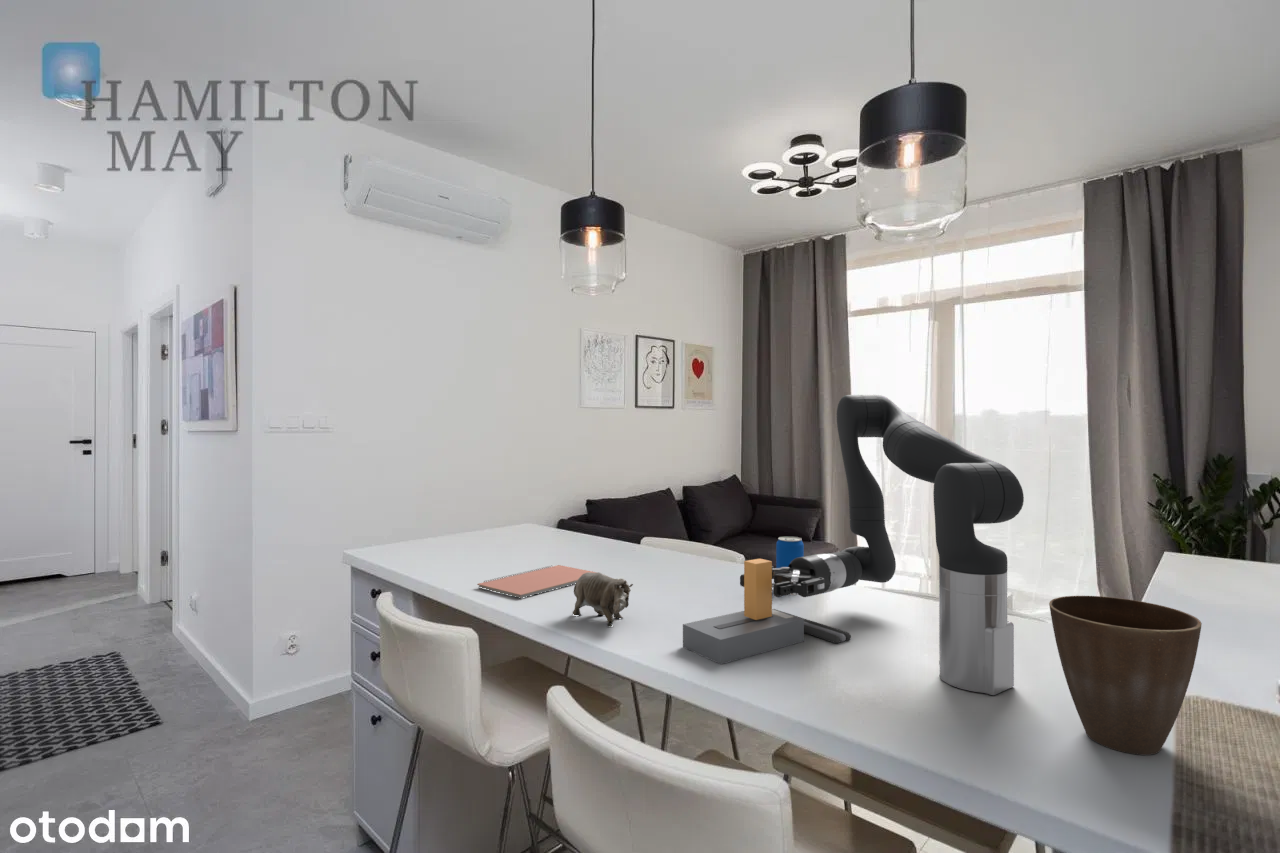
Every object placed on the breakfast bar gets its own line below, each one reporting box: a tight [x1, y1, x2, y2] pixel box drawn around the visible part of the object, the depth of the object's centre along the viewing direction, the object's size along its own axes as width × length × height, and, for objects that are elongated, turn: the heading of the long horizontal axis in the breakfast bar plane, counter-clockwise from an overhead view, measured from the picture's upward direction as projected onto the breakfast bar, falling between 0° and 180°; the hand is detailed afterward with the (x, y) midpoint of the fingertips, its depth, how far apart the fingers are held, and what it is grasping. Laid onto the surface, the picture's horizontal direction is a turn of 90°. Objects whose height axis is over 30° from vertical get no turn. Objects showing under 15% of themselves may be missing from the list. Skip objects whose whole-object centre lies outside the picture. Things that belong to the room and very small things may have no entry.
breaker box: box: [682, 608, 805, 665], centre depth 113 cm, size 10×20×4 cm, turn 124°
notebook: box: [476, 564, 597, 598], centre depth 159 cm, size 27×17×2 cm, turn 141°
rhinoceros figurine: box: [572, 572, 634, 626], centre depth 128 cm, size 8×14×15 cm
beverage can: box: [775, 536, 805, 568], centre depth 153 cm, size 6×6×12 cm
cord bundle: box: [773, 608, 852, 644], centre depth 120 cm, size 19×10×1 cm, turn 34°
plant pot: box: [1048, 595, 1203, 756], centre depth 78 cm, size 15×15×16 cm
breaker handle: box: [743, 558, 773, 620], centre depth 115 cm, size 3×4×10 cm
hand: (757, 585), depth 115 cm, fingers open, 8 cm apart
